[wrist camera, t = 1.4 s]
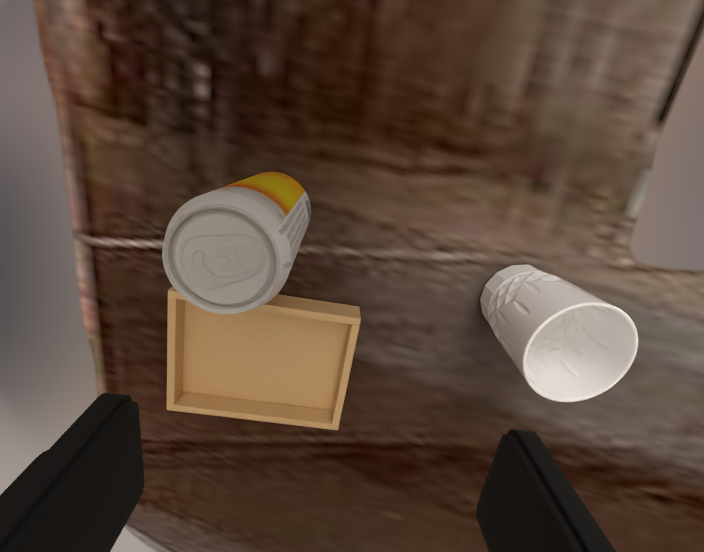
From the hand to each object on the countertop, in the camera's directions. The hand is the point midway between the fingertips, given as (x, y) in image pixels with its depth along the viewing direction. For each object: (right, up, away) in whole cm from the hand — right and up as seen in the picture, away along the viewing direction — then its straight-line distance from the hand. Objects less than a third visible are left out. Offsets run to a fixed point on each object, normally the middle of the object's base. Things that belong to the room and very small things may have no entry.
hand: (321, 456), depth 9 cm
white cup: (+16, +3, +25) cm, 30 cm away
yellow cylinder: (-6, +10, +22) cm, 25 cm away
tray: (-8, -3, +26) cm, 27 cm away
